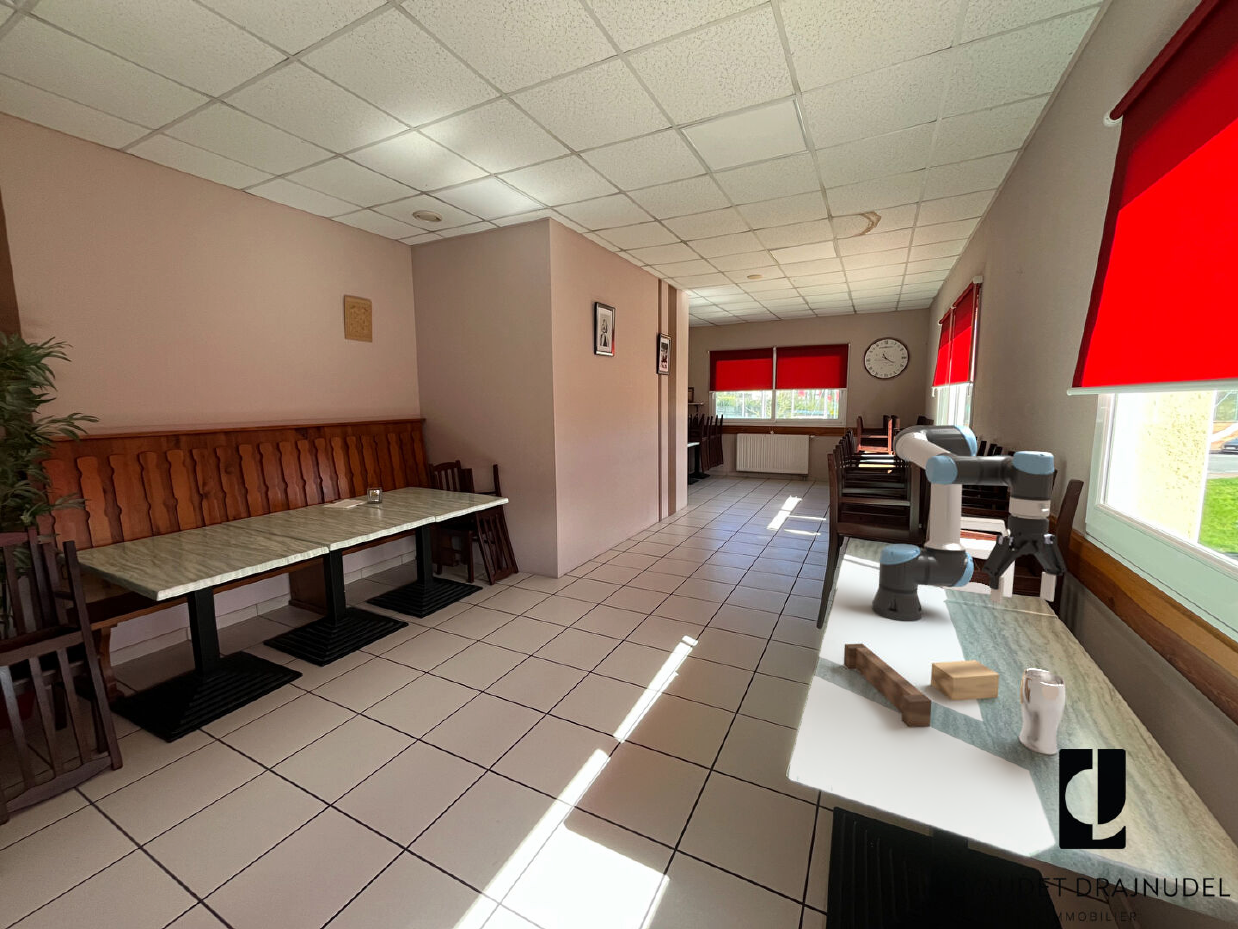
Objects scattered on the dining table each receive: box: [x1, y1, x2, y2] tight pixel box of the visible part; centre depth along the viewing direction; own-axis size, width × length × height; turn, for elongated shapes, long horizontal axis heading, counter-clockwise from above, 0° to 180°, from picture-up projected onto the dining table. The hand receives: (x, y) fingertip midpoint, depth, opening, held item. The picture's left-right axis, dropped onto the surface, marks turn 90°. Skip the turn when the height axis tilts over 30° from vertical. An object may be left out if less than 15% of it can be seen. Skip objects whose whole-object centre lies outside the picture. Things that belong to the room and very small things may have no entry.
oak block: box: [930, 659, 1000, 701], centre depth 121 cm, size 7×12×6 cm, turn 96°
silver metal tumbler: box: [1018, 668, 1066, 756], centre depth 101 cm, size 7×7×15 cm
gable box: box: [941, 516, 1016, 598], centre depth 190 cm, size 22×13×28 cm, turn 62°
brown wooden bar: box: [843, 643, 932, 728], centre depth 120 cm, size 27×5×6 cm, turn 4°
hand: (1021, 600), depth 120 cm, fingers open, 13 cm apart
